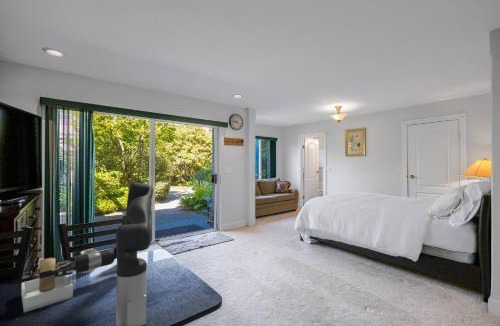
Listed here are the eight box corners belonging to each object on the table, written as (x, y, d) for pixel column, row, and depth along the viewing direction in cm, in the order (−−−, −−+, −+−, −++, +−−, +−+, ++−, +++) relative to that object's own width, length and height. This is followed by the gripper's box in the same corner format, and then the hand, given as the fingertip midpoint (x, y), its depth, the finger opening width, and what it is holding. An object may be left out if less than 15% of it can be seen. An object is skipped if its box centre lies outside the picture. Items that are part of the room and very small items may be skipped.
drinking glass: (98, 268, 127) (99, 249, 127) (89, 273, 121) (89, 253, 121) (87, 267, 128) (87, 248, 128) (77, 273, 121) (77, 253, 121)
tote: (72, 297, 99) (73, 284, 99) (23, 312, 88) (24, 298, 88) (65, 283, 111) (65, 272, 111) (21, 295, 100) (21, 282, 101)
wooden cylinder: (55, 289, 100) (56, 259, 100) (39, 293, 96) (40, 263, 96) (54, 285, 103) (54, 256, 104) (38, 289, 100) (39, 260, 100)
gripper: (84, 249, 115) (37, 259, 103) (92, 257, 105) (40, 269, 93) (84, 265, 115) (36, 277, 103) (92, 275, 105) (40, 289, 93)
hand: (39, 273), depth 98 cm, fingers closed on wooden cylinder, 5 cm apart
